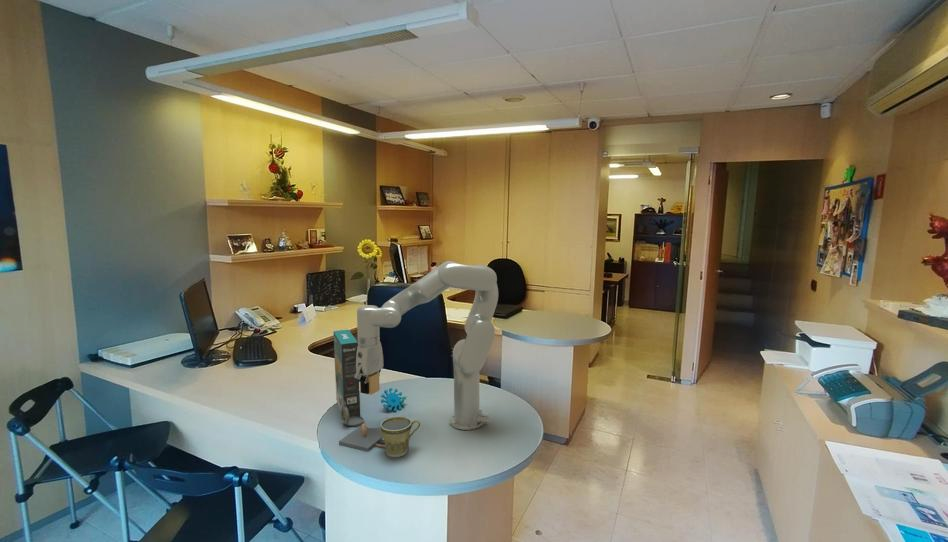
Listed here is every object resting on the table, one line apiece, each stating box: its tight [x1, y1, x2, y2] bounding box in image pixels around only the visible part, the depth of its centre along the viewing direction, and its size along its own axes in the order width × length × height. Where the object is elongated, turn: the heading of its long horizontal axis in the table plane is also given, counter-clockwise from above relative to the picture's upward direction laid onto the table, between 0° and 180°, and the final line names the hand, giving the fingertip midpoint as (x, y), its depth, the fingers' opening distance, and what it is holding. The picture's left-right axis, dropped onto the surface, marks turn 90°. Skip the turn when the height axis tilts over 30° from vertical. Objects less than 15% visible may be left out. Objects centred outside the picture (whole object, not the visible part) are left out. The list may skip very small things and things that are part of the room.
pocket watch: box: [340, 400, 365, 427], centre depth 157 cm, size 8×8×10 cm
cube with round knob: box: [359, 372, 381, 396], centre depth 150 cm, size 5×5×8 cm
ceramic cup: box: [379, 415, 421, 459], centre depth 138 cm, size 13×10×10 cm
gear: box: [380, 387, 408, 413], centre depth 172 cm, size 11×6×10 cm
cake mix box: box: [333, 329, 361, 418], centre depth 170 cm, size 22×6×30 cm, turn 26°
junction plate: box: [338, 422, 386, 452], centre depth 145 cm, size 16×12×6 cm
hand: (369, 389), depth 150 cm, fingers closed on cube with round knob, 4 cm apart
